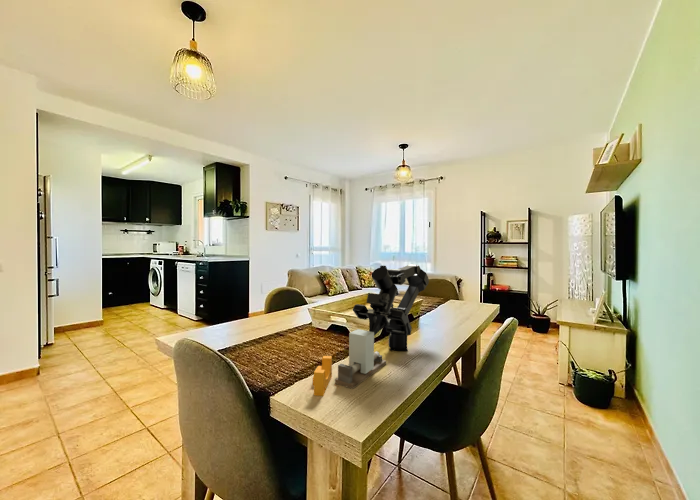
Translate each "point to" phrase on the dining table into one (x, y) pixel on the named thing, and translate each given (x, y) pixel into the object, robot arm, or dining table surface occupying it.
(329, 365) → the pipe clamp
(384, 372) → the dining table surface
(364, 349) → the sleeve
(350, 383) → the pipe rig
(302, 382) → the dining table surface
